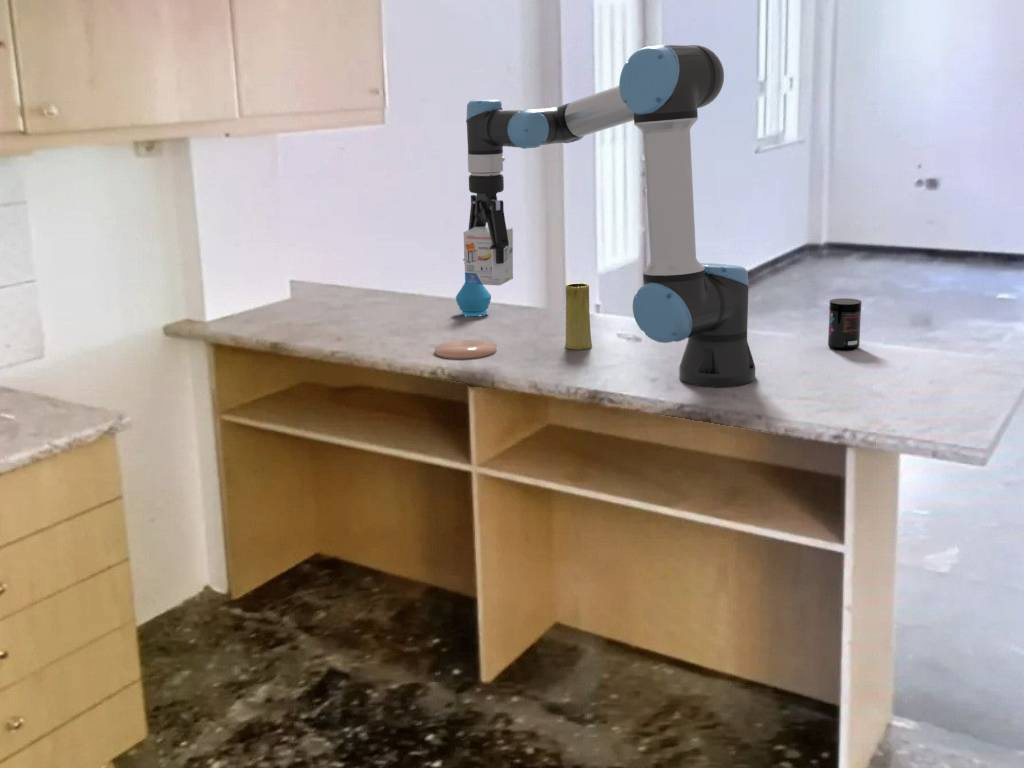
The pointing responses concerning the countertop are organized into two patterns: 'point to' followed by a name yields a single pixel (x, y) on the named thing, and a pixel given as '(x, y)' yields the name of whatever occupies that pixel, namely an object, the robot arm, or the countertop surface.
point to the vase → (577, 317)
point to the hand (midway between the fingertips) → (488, 273)
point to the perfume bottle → (473, 299)
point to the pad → (465, 349)
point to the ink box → (484, 257)
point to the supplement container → (844, 324)
